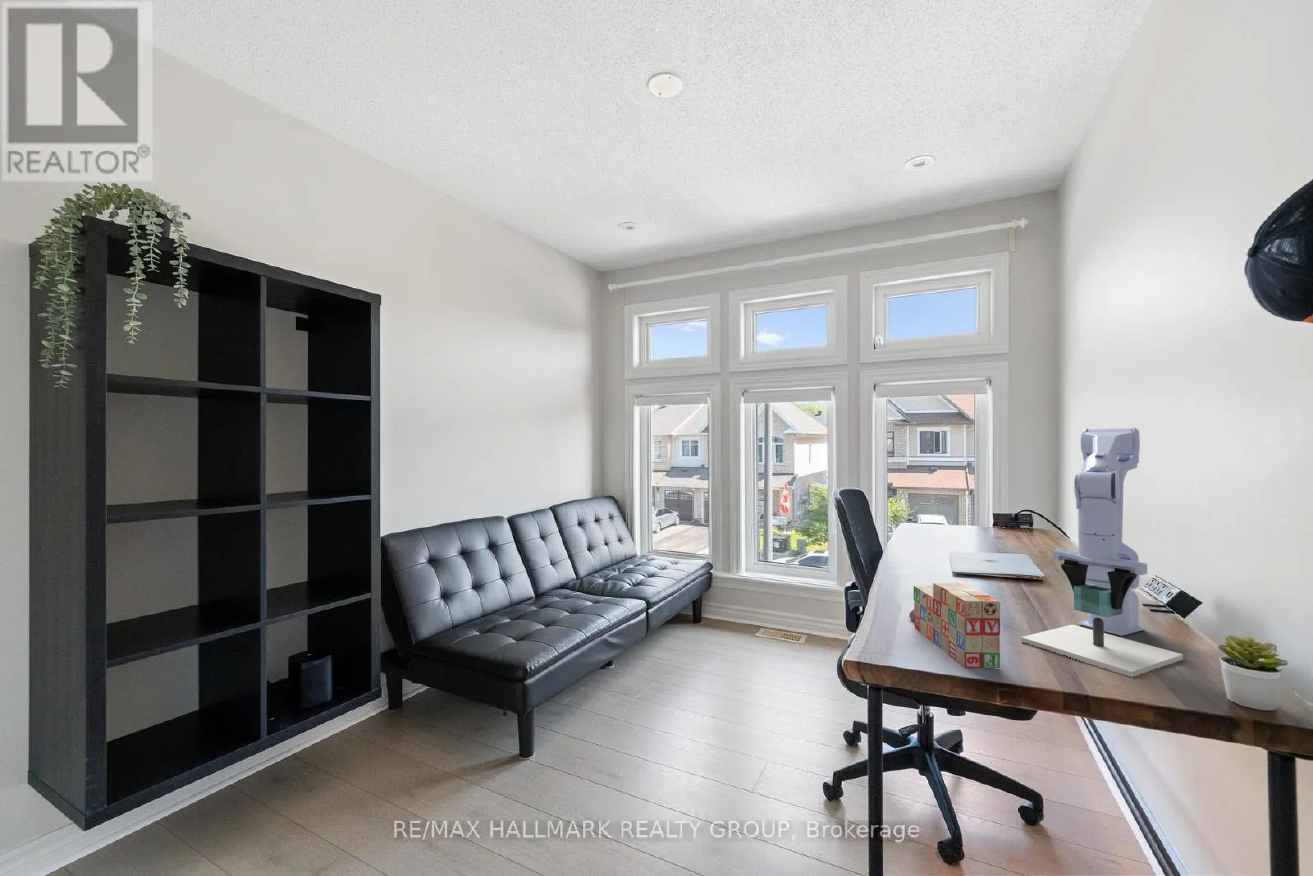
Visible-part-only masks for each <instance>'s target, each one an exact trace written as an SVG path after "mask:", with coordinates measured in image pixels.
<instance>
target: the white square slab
mask: <svg viewBox="0 0 1313 876" xmlns="http://www.w3.org/2000/svg"><path fill="white" fill-rule="evenodd" d="M1021 641H1025V642H1028V643H1030V644H1032V645H1035V646H1040V647H1043V648H1045V649H1047V650H1051V651H1053V652H1052V653H1054V652H1056V653H1055V654H1057V653H1058V654H1057V655H1060V654H1061V655H1060V656H1063V655H1066V656H1068V657H1067V658H1069V657H1071V658H1070V659H1072V658H1073V659H1072V660H1075V659H1077V661H1079V660H1080V661H1079V662H1082V661H1083V662H1082V663H1085V664H1088V665H1091V664H1092V665H1091V666H1095V667H1097V668H1099V669H1100V668H1101V669H1104V668H1105V669H1104V670H1107V669H1108V670H1107V671H1110V670H1111V672H1113V673H1116V672H1117V674H1119V673H1122V674H1125V675H1128V676H1127V677H1129V676H1131V677H1130V678H1134V677H1133V676H1135V675H1138V674H1141V673H1143V674H1146V673H1148V672H1147V671H1149V672H1151V671H1150V670H1152V671H1154V670H1153V669H1155V668H1158V669H1160V667H1161V666H1164V665H1166V666H1168V665H1167V664H1169V665H1172V664H1175V663H1177V661H1178V662H1180V660H1181V661H1184V654H1183V653H1180V652H1177V651H1176V652H1175V651H1173V650H1168V649H1165V648H1161V647H1156V646H1153V645H1150V644H1147V643H1142V642H1138V641H1135V640H1132V639H1128V638H1124V637H1120V636H1118V635H1117V636H1116V635H1114V634H1110V633H1107V632H1105V631H1104V622H1103V620H1102V619H1101V618H1094V619H1093V628H1090V629H1089V628H1088V627H1084V626H1083V627H1082V626H1081V625H1076V624H1068V625H1063V626H1059V627H1057V628H1053V629H1049V630H1044V631H1040V632H1037V633H1032V634H1028V635H1024V636H1020V642H1021ZM1032 645H1031V646H1032ZM1035 646H1034V647H1035ZM1047 650H1046V651H1047ZM1051 651H1050V652H1051ZM1066 656H1065V657H1066ZM1174 662H1175V663H1174ZM1164 667H1165V666H1164ZM1161 668H1162V667H1161ZM1155 670H1156V669H1155ZM1145 672H1146V673H1145ZM1122 674H1121V675H1122ZM1125 675H1124V676H1125ZM1141 675H1142V674H1141ZM1138 676H1139V675H1138ZM1135 677H1136V676H1135Z"/></svg>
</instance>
